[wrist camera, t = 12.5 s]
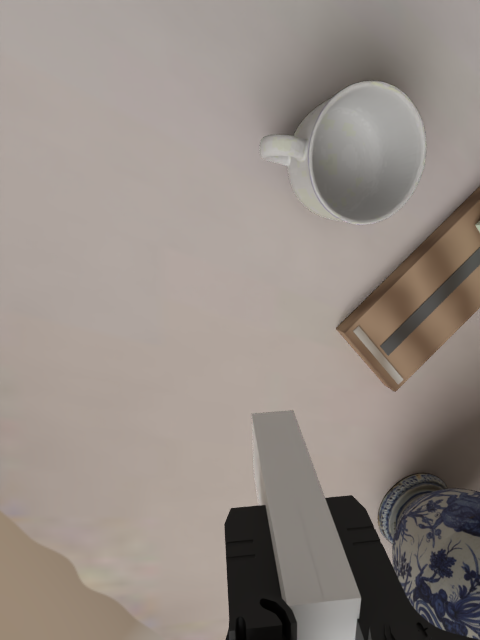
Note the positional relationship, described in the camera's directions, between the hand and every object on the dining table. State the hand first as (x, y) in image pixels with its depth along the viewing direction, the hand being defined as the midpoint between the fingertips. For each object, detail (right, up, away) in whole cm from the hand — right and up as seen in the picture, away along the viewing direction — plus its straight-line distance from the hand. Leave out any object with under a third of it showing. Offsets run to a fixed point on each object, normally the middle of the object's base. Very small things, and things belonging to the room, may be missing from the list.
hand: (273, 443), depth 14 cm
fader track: (+21, +9, +31) cm, 38 cm away
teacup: (+6, +20, +24) cm, 32 cm away
